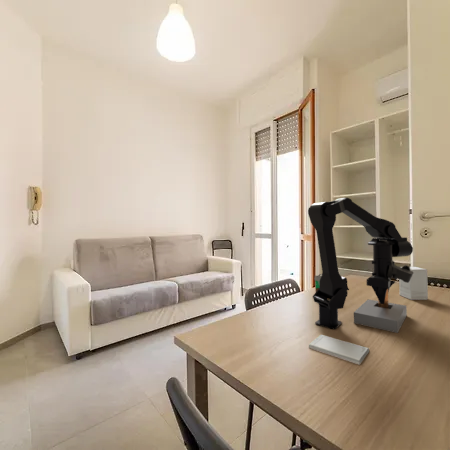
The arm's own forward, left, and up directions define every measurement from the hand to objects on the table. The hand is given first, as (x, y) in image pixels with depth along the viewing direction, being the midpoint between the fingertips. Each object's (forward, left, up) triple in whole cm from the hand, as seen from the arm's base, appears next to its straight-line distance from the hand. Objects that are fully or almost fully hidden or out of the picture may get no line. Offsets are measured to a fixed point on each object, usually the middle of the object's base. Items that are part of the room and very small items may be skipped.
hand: (383, 302), depth 90 cm
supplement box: (+32, -5, -5) cm, 33 cm away
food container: (+11, +24, -5) cm, 27 cm away
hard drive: (-34, +4, -5) cm, 35 cm away
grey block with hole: (-4, 0, -5) cm, 6 cm away
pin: (0, 0, -3) cm, 3 cm away
